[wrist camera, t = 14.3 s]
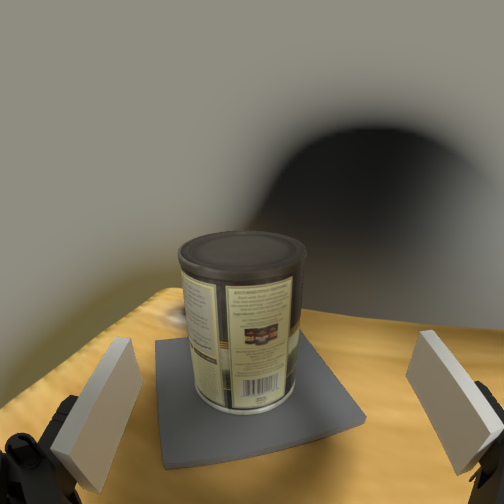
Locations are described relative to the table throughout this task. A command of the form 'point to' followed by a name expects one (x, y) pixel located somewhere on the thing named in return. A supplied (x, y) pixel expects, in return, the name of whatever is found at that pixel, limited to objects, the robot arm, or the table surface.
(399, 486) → the table surface
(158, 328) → the table surface
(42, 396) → the table surface
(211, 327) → the coffee can
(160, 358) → the rubber mat
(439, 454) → the table surface
